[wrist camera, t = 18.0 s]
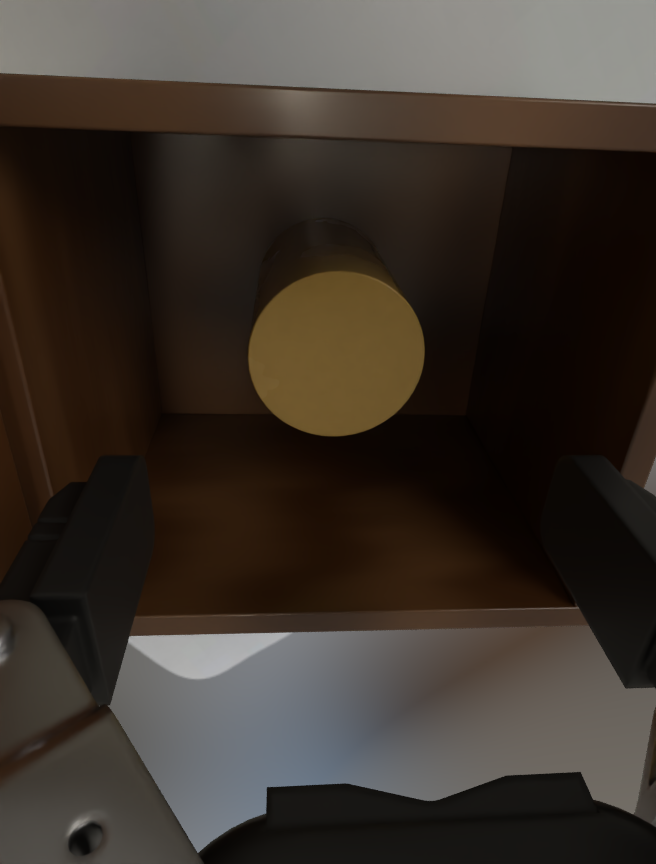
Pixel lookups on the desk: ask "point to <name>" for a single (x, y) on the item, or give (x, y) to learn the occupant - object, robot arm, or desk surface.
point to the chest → (232, 316)
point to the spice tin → (332, 332)
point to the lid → (10, 507)
